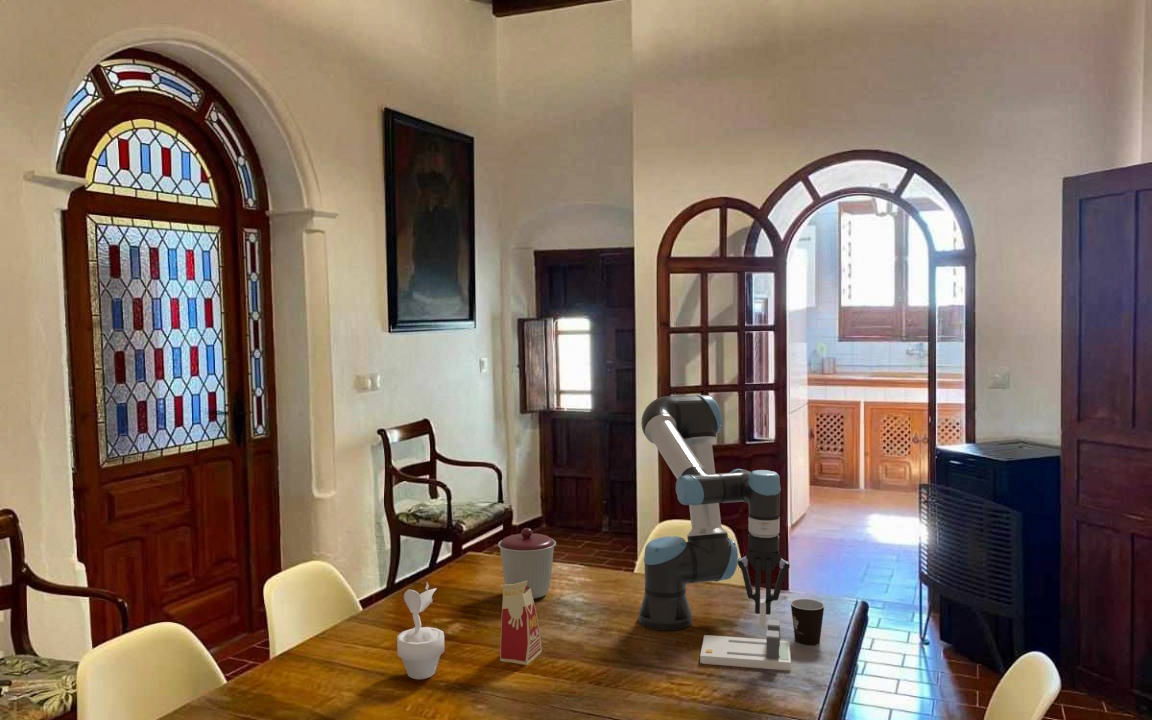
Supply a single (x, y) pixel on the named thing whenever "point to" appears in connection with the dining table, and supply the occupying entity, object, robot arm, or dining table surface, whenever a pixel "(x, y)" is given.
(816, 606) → the coffee mug
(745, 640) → the panel
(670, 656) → the dining table surface
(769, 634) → the block
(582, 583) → the dining table surface
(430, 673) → the potted plant
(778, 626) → the block
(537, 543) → the canister
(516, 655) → the milk carton
